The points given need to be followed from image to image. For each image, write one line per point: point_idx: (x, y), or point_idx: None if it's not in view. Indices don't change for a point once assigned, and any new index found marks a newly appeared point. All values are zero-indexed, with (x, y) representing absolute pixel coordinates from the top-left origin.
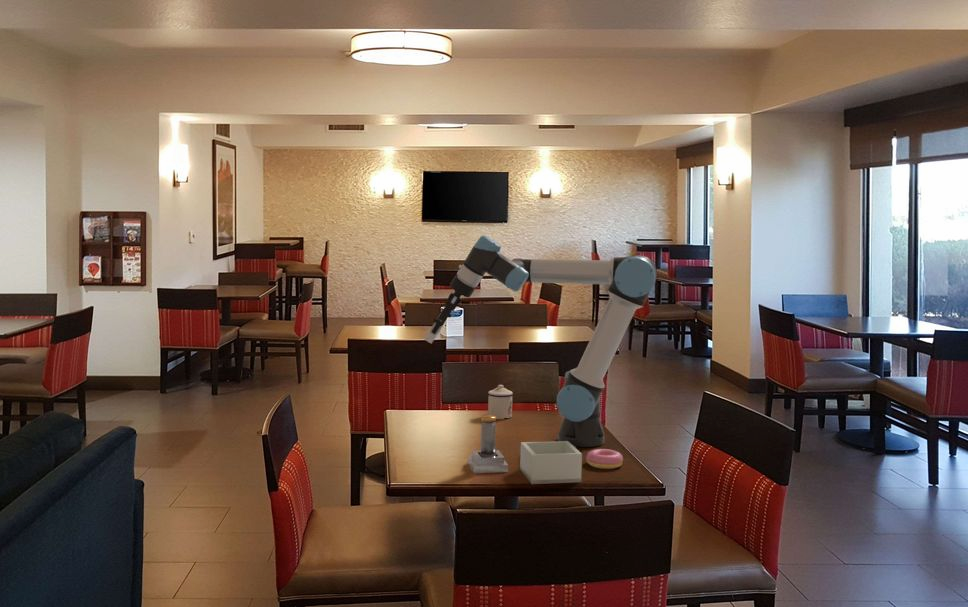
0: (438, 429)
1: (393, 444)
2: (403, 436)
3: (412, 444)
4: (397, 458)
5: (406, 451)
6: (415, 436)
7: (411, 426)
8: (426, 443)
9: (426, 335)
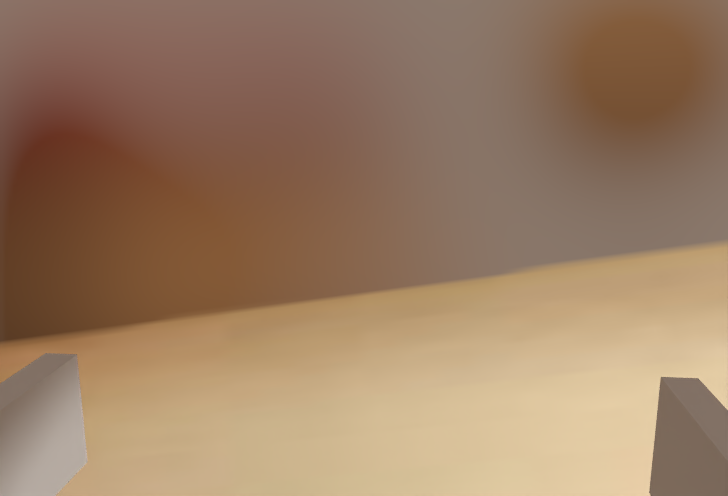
0: (583, 485)
1: (278, 306)
2: (420, 332)
3: (284, 388)
4: (56, 351)
5: (166, 375)
6: (428, 386)
7: (614, 346)
8: (306, 450)
9: (8, 380)
